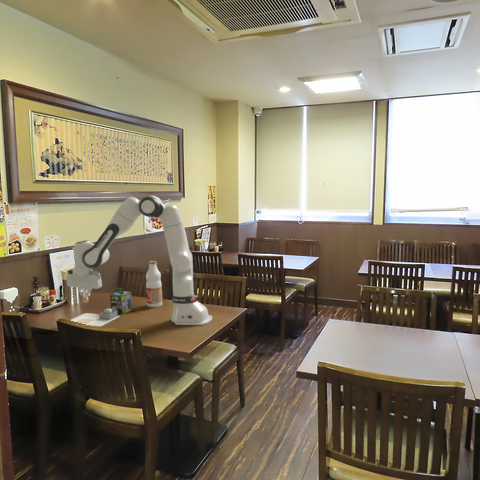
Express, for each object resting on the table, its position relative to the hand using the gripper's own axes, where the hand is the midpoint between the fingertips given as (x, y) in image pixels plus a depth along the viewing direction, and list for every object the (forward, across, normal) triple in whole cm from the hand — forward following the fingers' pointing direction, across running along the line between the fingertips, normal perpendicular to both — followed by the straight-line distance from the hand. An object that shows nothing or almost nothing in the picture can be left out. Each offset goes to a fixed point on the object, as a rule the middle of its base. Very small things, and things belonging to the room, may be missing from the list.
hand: (85, 295), depth 211 cm
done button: (+13, -8, -9) cm, 17 cm away
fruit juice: (+15, -21, -38) cm, 46 cm away
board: (+15, -1, -4) cm, 16 cm away
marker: (+4, 0, 0) cm, 4 cm away
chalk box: (+15, -8, -22) cm, 28 cm away
